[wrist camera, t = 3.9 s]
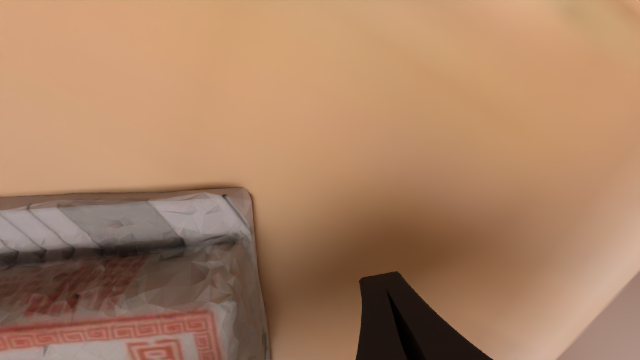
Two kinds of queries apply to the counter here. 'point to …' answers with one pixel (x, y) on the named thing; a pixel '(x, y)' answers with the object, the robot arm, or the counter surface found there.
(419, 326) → the robot arm
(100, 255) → the packaged product
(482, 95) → the counter surface
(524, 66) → the counter surface
